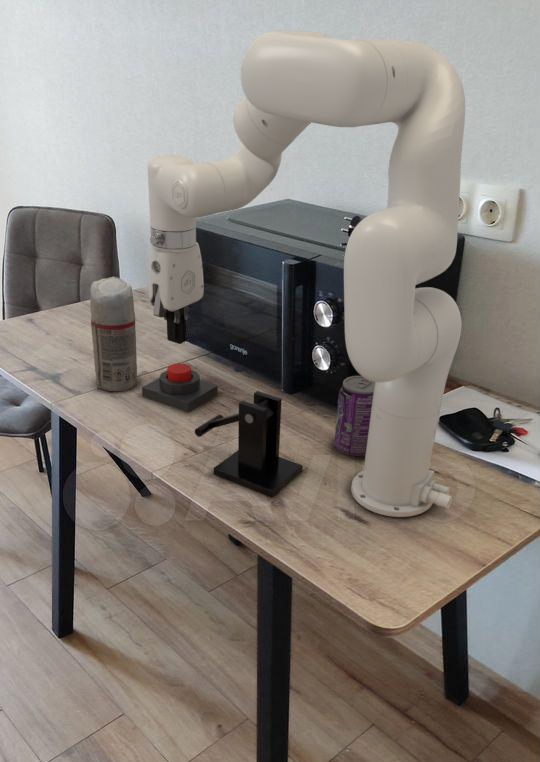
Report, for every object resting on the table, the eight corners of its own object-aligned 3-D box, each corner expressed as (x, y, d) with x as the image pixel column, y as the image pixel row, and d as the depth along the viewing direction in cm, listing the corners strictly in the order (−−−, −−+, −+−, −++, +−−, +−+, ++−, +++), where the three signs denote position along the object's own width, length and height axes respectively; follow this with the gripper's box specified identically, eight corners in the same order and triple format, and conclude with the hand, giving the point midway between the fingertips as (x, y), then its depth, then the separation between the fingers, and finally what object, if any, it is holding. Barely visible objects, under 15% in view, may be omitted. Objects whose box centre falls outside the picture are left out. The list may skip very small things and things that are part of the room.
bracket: (213, 474, 111) (212, 401, 104) (245, 450, 117) (246, 380, 110) (272, 497, 106) (275, 422, 99) (302, 471, 112) (307, 399, 105)
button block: (217, 394, 134) (217, 375, 132) (188, 412, 128) (187, 392, 125) (172, 380, 139) (172, 361, 137) (142, 396, 132) (140, 377, 130)
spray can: (144, 376, 140) (137, 276, 129) (134, 394, 133) (125, 290, 122) (103, 372, 140) (92, 273, 129) (90, 390, 134) (78, 287, 123)
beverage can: (344, 433, 123) (351, 370, 116) (382, 445, 120) (391, 381, 113) (326, 451, 118) (332, 386, 111) (365, 463, 115) (373, 397, 108)
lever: (198, 440, 111) (191, 426, 111) (220, 425, 115) (214, 412, 115) (259, 424, 103) (252, 409, 102) (280, 409, 107) (274, 394, 106)
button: (196, 377, 132) (195, 367, 131) (181, 385, 129) (181, 375, 128) (177, 371, 134) (177, 361, 133) (162, 379, 131) (162, 369, 129)
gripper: (162, 251, 110) (166, 359, 120) (218, 232, 121) (218, 333, 131) (126, 242, 113) (133, 348, 124) (184, 225, 124) (186, 324, 134)
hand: (177, 340), depth 127 cm, fingers closed
